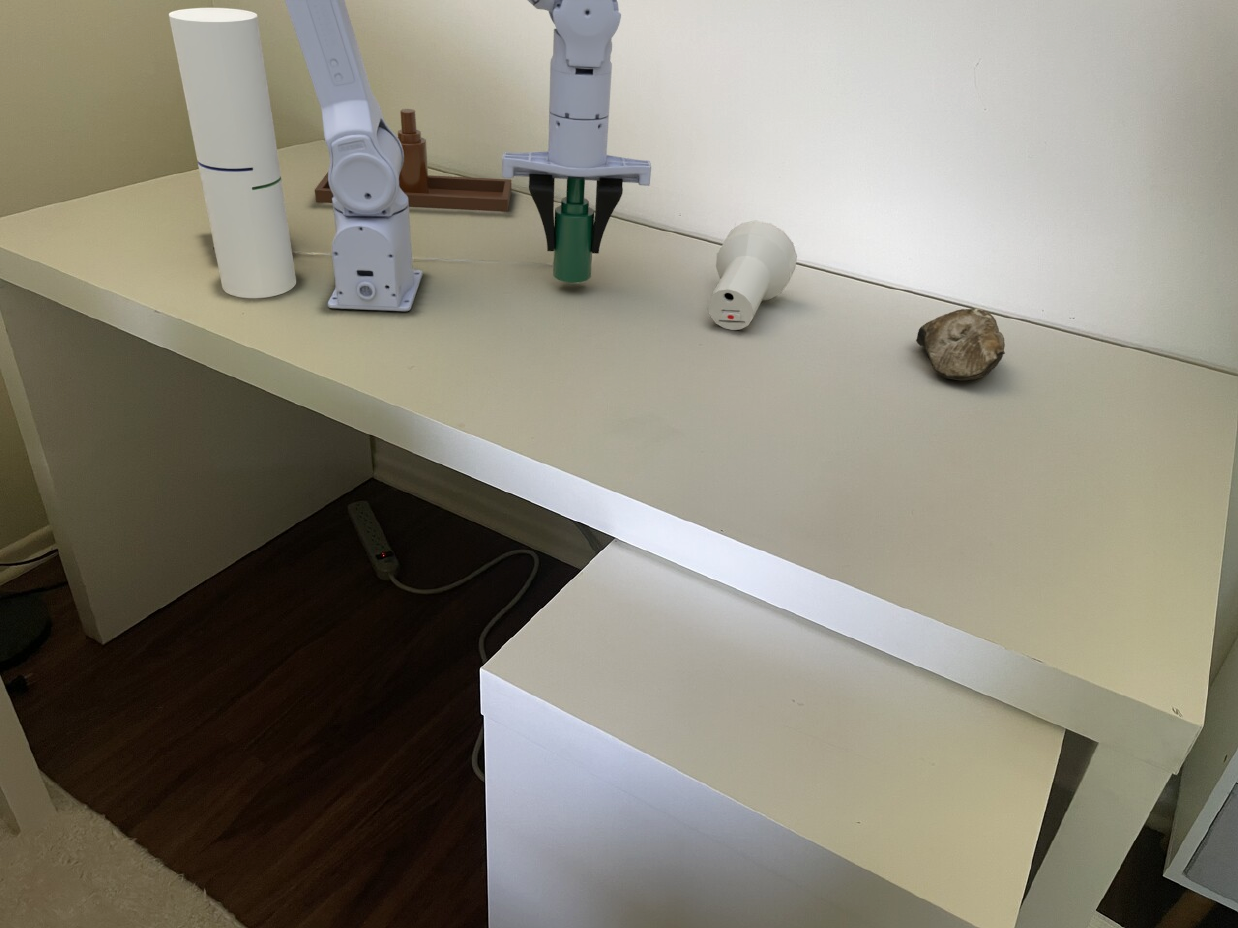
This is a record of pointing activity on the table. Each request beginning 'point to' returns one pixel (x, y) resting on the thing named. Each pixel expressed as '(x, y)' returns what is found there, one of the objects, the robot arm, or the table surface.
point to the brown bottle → (412, 155)
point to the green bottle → (573, 234)
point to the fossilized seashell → (963, 344)
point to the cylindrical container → (235, 148)
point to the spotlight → (750, 272)
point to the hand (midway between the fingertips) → (573, 249)
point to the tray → (449, 193)
